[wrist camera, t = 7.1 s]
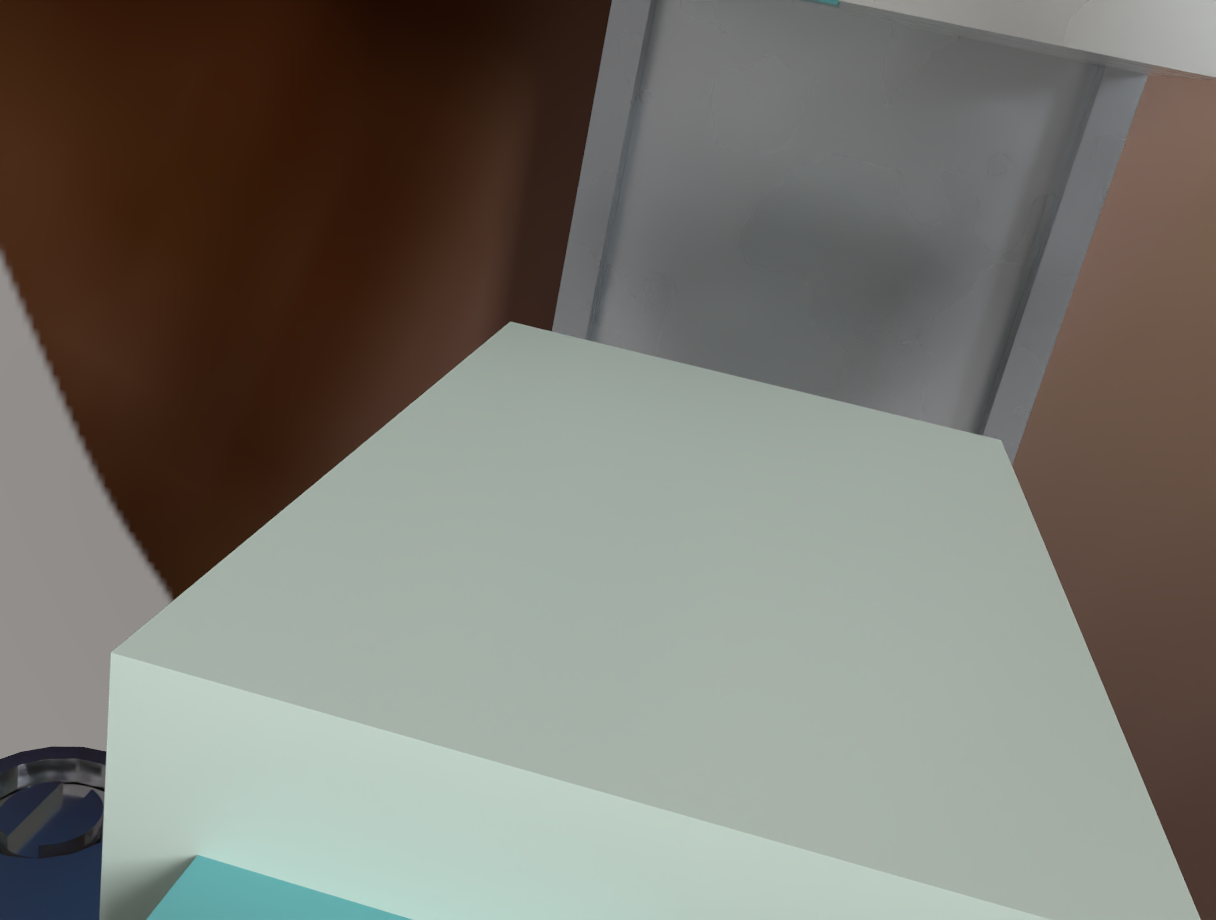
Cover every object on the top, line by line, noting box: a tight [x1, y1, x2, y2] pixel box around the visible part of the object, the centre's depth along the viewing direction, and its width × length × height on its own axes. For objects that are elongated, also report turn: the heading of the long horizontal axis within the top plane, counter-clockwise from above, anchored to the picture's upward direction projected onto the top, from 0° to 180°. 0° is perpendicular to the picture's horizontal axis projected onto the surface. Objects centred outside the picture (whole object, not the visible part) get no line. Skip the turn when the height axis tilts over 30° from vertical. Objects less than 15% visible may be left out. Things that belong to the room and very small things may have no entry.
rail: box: [552, 0, 1216, 465], centre depth 19 cm, size 8×24×6 cm, turn 169°
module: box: [99, 322, 1201, 920], centre depth 9 cm, size 5×7×8 cm
